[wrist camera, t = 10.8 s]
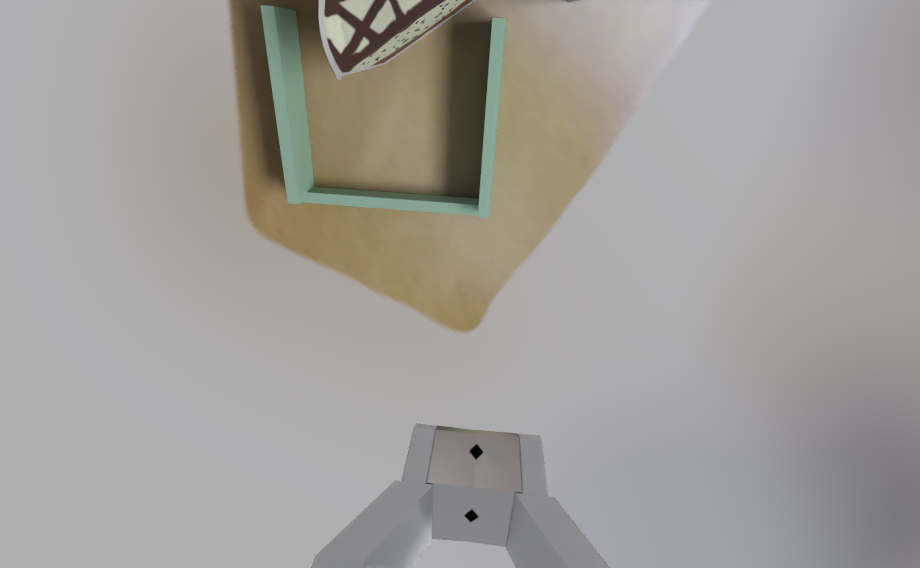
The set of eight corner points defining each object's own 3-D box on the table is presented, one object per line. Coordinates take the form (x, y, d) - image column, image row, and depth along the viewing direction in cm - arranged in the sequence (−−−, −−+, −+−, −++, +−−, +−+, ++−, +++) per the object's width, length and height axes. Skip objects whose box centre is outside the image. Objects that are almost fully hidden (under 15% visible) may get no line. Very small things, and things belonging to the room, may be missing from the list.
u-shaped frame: (283, 9, 36) (260, 5, 32) (505, 21, 35) (506, 18, 31) (305, 195, 43) (288, 208, 40) (489, 209, 42) (488, 223, 39)
